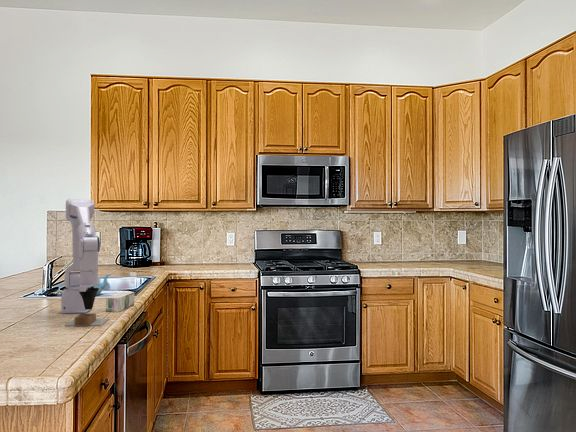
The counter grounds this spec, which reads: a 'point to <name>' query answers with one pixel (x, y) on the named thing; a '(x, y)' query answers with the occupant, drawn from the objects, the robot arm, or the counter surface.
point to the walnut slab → (85, 319)
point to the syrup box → (119, 301)
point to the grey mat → (96, 323)
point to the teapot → (101, 285)
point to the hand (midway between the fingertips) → (88, 309)
